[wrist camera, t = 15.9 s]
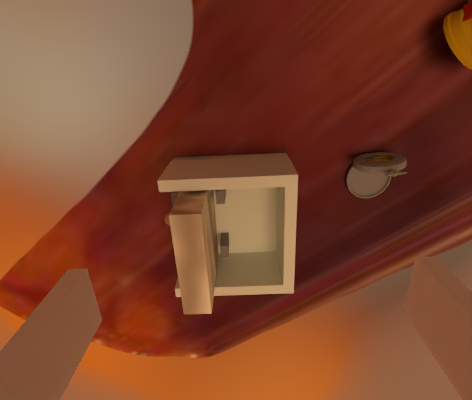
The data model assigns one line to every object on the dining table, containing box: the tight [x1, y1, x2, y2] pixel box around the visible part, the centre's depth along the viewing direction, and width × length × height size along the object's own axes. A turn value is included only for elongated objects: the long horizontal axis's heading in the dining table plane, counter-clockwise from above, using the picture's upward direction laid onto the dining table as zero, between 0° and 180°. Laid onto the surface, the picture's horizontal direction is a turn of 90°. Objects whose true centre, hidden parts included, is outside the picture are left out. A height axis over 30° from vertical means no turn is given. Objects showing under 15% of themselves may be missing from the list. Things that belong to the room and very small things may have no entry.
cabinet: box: [157, 153, 298, 297], centre depth 45 cm, size 17×18×10 cm
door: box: [164, 190, 218, 314], centre depth 42 cm, size 5×14×14 cm, turn 3°
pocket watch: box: [346, 152, 407, 198], centre depth 42 cm, size 8×8×10 cm
